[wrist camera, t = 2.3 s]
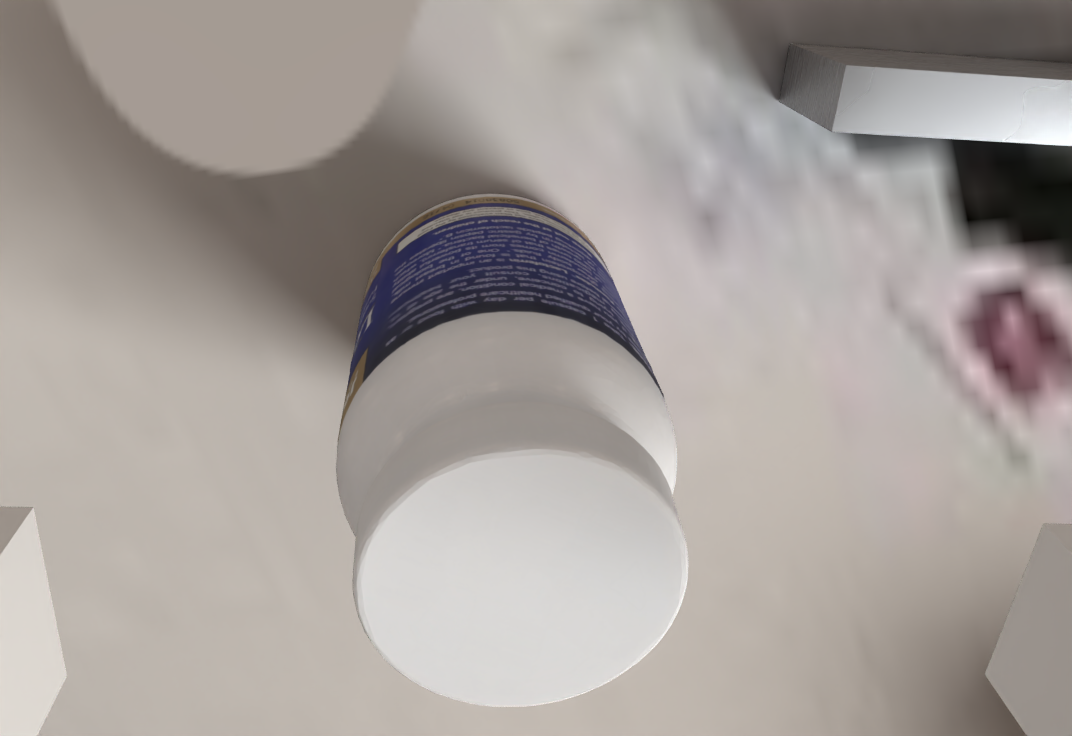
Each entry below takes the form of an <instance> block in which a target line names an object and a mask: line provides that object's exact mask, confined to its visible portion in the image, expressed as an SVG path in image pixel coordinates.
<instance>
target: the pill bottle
mask: <svg viewBox="0 0 1072 736" xmlns="http://www.w3.org/2000/svg"><path fill="white" fill-rule="evenodd" d="M676 472H677V445H676V438H675V433H674V428H673V424H672V420H671V417H670V414H669V411H668V408H667V406H666V403H665V400H664V395H663V393H662V391H661V389H660V387H659V384H658V382H657V380H656V378H655V376H654V374H653V371H652V368H651V366H650V364H649V362H648V360H647V358H646V356H645V354H644V352H643V349H642V347H641V345H640V343H639V341H638V338H637V336H636V334H635V331H634V329H633V327H632V324H631V322H630V320H629V317H628V315H627V313H626V310H625V308H624V306H623V303H622V301H621V298H620V296H619V294H618V291H617V289H616V287H615V284H614V282H613V279H612V277H611V275H610V273H609V271H608V269H607V266H606V265H605V263H604V261H603V259H602V257H601V255H600V254H599V252H598V251H597V249H596V248H595V246H594V245H593V243H592V242H591V241H590V240H589V238H588V237H587V236H586V235H585V234H584V233H583V232H582V231H581V230H580V229H579V228H578V227H577V226H576V225H575V224H574V223H573V222H571V221H570V220H569V219H567V218H566V217H565V216H563V215H562V214H560V213H559V212H557V211H555V210H554V209H552V208H550V207H548V206H546V205H543V204H541V203H538V202H536V201H533V200H530V199H527V198H523V197H518V196H513V195H504V194H476V195H470V196H464V197H460V198H456V199H453V200H449V201H446V202H443V203H441V204H438V205H436V206H434V207H432V208H430V209H428V210H426V211H425V212H423V213H421V214H420V215H418V216H416V217H415V218H414V219H412V220H411V221H410V222H409V223H407V224H406V225H405V226H404V227H403V228H402V229H401V230H400V231H398V232H397V233H396V234H395V236H394V237H393V238H392V239H391V240H390V242H389V243H388V244H387V245H386V247H385V248H384V249H383V251H382V253H381V254H380V256H379V257H378V259H377V261H376V263H375V265H374V267H373V269H372V272H371V275H370V277H369V281H368V284H367V287H366V291H365V295H364V299H363V305H362V310H361V315H360V320H359V325H358V331H357V337H356V343H355V348H354V353H353V358H352V361H351V367H350V375H349V381H348V386H347V392H346V397H345V402H344V408H343V414H342V419H341V424H340V431H339V437H338V446H337V462H336V473H337V484H338V491H339V496H340V500H341V504H342V507H343V510H344V513H345V516H346V518H347V521H348V523H349V525H350V527H351V529H352V531H353V533H354V535H355V537H356V541H355V554H354V567H353V595H354V600H355V605H356V609H357V613H358V617H359V619H360V621H361V623H362V626H363V629H364V631H365V633H366V634H367V636H368V638H369V639H370V641H371V643H372V644H373V646H374V647H375V648H376V650H377V651H378V652H379V653H380V655H381V656H382V657H383V658H384V659H385V660H386V661H387V662H388V663H389V664H390V665H391V666H392V667H393V668H395V669H396V670H397V671H398V672H399V673H401V674H402V675H404V676H405V677H407V678H408V679H410V680H411V681H413V682H414V683H416V684H418V685H420V686H422V687H423V688H425V689H427V690H429V691H431V692H433V693H436V694H439V695H442V696H445V697H448V698H450V699H454V700H457V701H462V702H466V703H471V704H476V705H483V706H490V707H523V706H535V705H542V704H548V703H552V702H557V701H562V700H565V699H568V698H571V697H575V696H578V695H581V694H583V693H586V692H589V691H591V690H593V689H595V688H598V687H600V686H602V685H604V684H606V683H608V682H609V681H611V680H613V679H614V678H616V677H618V676H619V675H621V674H622V673H624V672H625V671H627V670H628V669H629V668H631V667H632V666H633V665H635V664H636V663H638V662H639V661H640V660H641V659H642V658H643V657H644V656H646V655H647V654H648V653H649V652H650V651H651V650H652V649H653V648H654V647H655V646H656V645H657V644H658V643H659V641H660V640H661V639H662V638H663V636H664V635H665V633H666V632H667V631H668V629H669V628H670V626H671V624H672V623H673V621H674V619H675V617H676V615H677V613H678V611H679V609H680V607H681V604H682V601H683V597H684V594H685V590H686V585H687V579H688V550H687V544H686V539H685V535H684V532H683V529H682V526H681V523H680V520H679V516H678V513H677V510H676V507H675V503H674V499H673V491H674V487H675V482H676Z"/></svg>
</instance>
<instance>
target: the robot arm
mask: <svg viewBox="0 0 1072 736" xmlns="http://www.w3.org/2000/svg"><path fill="white" fill-rule="evenodd" d="M985 676H986V677H987V679H988V680H989V681H990V683H991V684H992V686H993V687H994V689H995V690H996V692H997V693H998V695H999V696H1000V697H1001V699H1002V700H1003V702H1004V703H1005V705H1006V706H1007V708H1008V709H1009V711H1010V712H1011V713H1012V715H1013V716H1014V718H1015V719H1016V721H1017V722H1018V724H1019V725H1020V727H1021V728H1022V730H1023V731H1024V732H1025V734H1026V735H1027V736H1072V524H1043V526H1042V528H1041V531H1040V534H1039V536H1038V539H1037V541H1036V544H1035V546H1034V549H1033V551H1032V554H1031V557H1030V559H1029V562H1028V564H1027V567H1026V569H1025V572H1024V575H1023V577H1022V580H1021V582H1020V585H1019V587H1018V590H1017V593H1016V595H1015V598H1014V600H1013V603H1012V605H1011V608H1010V610H1009V613H1008V616H1007V618H1006V621H1005V623H1004V626H1003V628H1002V631H1001V634H1000V636H999V639H998V641H997V644H996V646H995V649H994V651H993V654H992V657H991V659H990V662H989V664H988V667H987V669H986V672H985ZM66 677H67V674H66V669H65V664H64V659H63V653H62V648H61V643H60V638H59V633H58V628H57V623H56V618H55V613H54V608H53V603H52V598H51V593H50V588H49V583H48V578H47V573H46V568H45V563H44V558H43V553H42V548H41V543H40V538H39V533H38V528H37V523H36V518H35V513H34V508H33V507H0V736H37V735H38V733H39V731H40V729H41V727H42V725H43V723H44V721H45V719H46V717H47V715H48V713H49V711H50V709H51V707H52V705H53V703H54V701H55V699H56V697H57V695H58V693H59V691H60V689H61V687H62V685H63V683H64V681H65V679H66Z"/></svg>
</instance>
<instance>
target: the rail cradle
mask: <svg viewBox="0 0 1072 736" xmlns="http://www.w3.org/2000/svg"><path fill="white" fill-rule="evenodd" d="M779 102H780V103H782V104H784V105H786V106H787V107H789V108H791V109H793V110H794V111H796V112H798V113H800V114H801V115H803V116H805V117H807V118H808V119H810V120H812V121H814V122H815V123H817V124H819V125H821V126H822V127H824V128H826V129H828V130H829V131H831V132H842V133H859V134H876V135H893V136H910V137H927V138H945V139H962V140H979V141H996V142H1013V143H1030V144H1047V145H1064V146H1072V63H1061V62H1047V61H1032V60H1018V59H1004V58H990V57H975V56H961V55H947V54H933V53H918V52H904V51H890V50H875V49H861V48H847V47H833V46H818V45H804V44H790V46H789V51H788V57H787V62H786V67H785V73H784V78H783V83H782V89H781V94H780V100H779Z"/></svg>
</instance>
